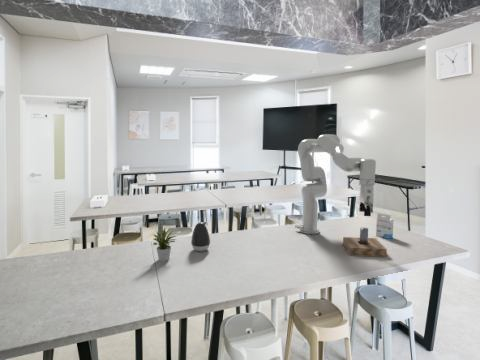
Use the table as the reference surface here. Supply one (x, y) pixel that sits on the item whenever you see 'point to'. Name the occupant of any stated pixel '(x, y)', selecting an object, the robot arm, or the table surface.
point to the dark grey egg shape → (200, 237)
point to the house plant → (163, 245)
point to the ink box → (384, 226)
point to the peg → (364, 236)
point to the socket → (364, 247)
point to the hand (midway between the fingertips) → (364, 213)
